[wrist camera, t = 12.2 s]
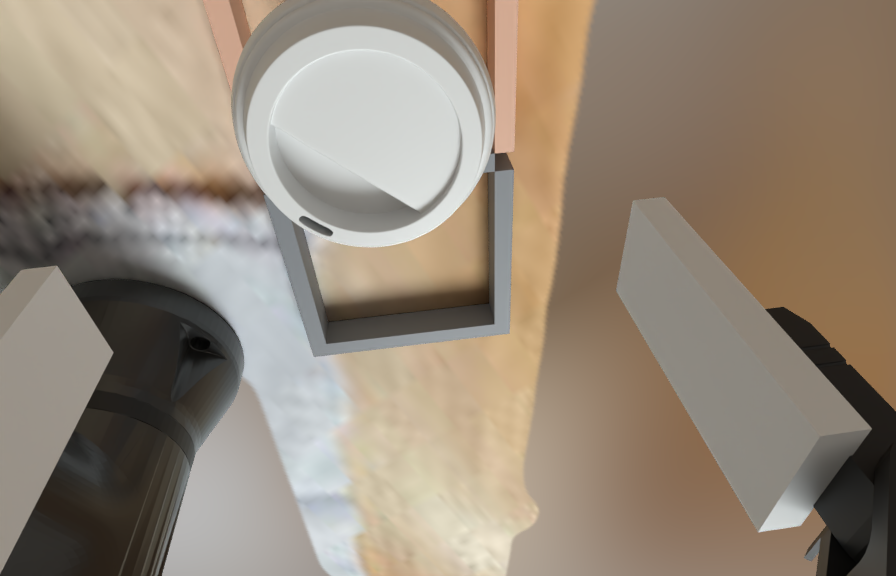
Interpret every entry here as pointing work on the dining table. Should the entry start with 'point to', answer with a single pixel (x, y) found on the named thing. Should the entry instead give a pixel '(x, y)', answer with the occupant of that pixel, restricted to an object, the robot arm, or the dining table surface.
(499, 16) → the cup caddy
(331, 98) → the coffee cup
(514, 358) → the dining table surface
